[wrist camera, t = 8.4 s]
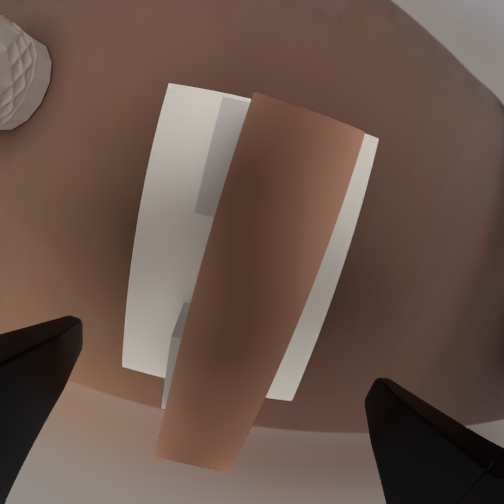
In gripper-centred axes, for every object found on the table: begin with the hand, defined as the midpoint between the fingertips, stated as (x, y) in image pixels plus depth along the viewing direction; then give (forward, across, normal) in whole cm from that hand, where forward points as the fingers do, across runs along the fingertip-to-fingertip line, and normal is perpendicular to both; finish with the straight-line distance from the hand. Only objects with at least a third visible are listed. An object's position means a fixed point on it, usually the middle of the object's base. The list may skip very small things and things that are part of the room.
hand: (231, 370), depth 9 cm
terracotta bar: (+6, 0, 0) cm, 6 cm away
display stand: (+11, 0, 0) cm, 11 cm away
